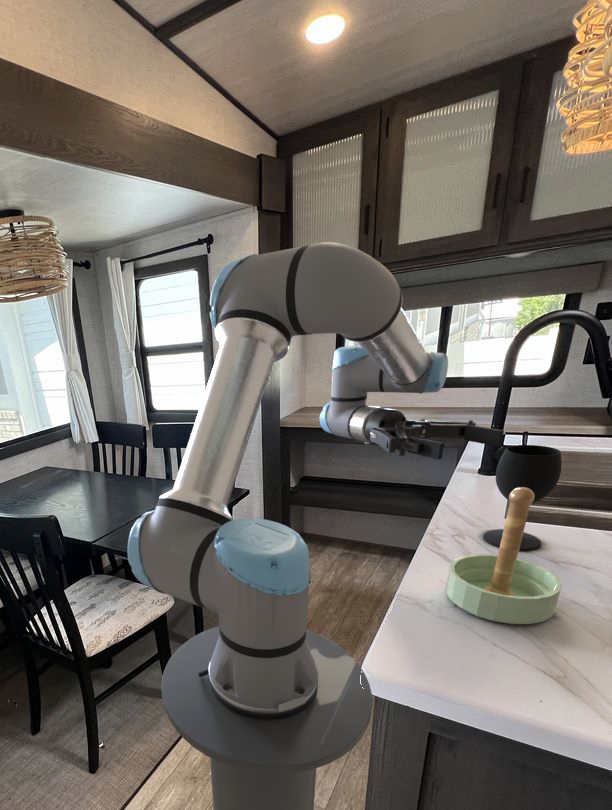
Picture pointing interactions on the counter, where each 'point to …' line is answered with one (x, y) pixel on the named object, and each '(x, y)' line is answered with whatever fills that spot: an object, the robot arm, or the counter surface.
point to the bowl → (527, 606)
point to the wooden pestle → (511, 540)
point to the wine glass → (526, 481)
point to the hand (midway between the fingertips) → (472, 444)
